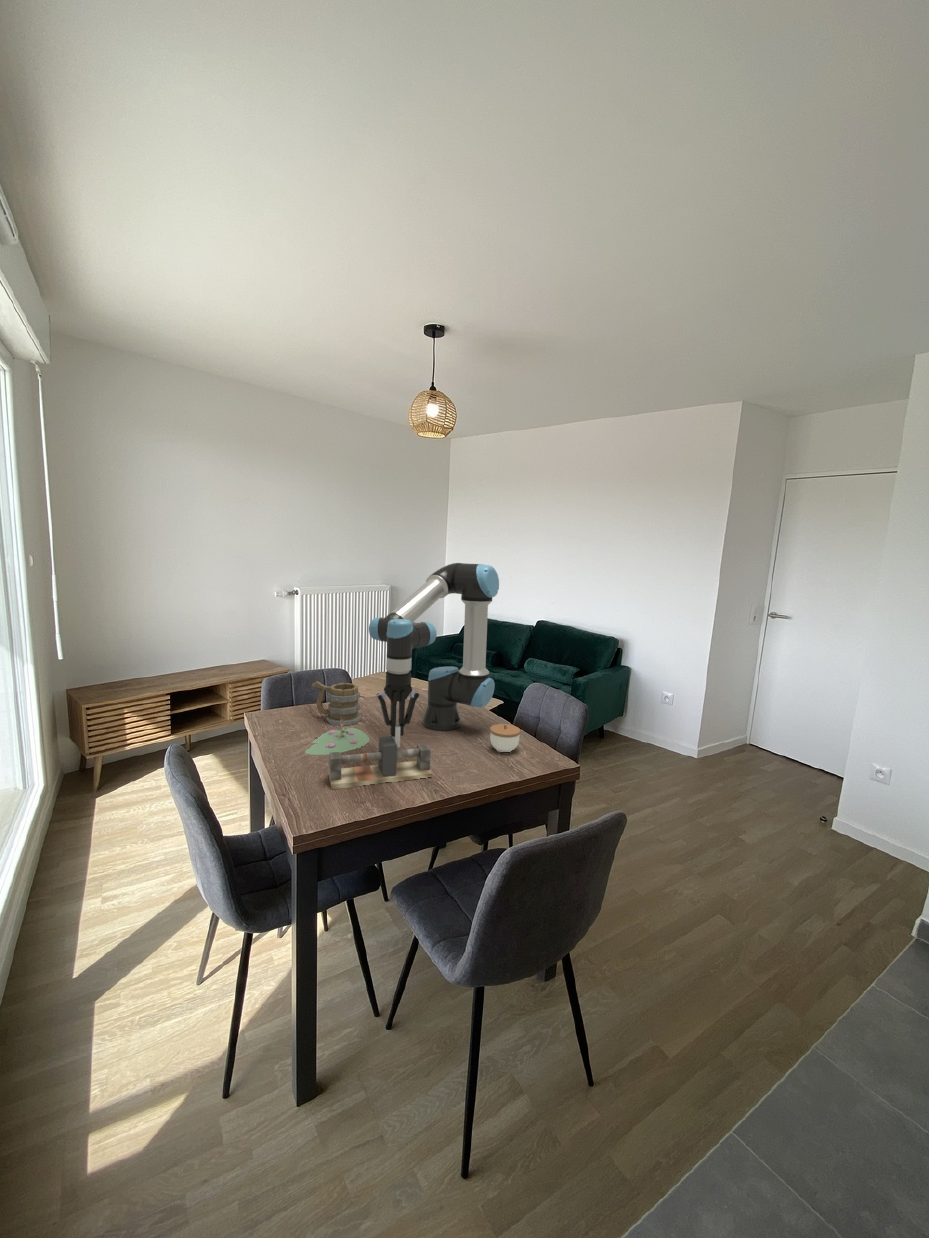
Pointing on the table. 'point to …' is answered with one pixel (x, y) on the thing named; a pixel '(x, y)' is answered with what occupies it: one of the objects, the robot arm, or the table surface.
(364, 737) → the plant
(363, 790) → the table surface
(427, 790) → the table surface
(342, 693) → the tankard
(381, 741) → the collar
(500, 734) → the lidded jar
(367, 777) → the grey sliding block rail
